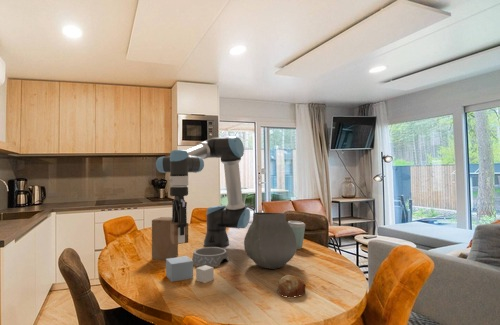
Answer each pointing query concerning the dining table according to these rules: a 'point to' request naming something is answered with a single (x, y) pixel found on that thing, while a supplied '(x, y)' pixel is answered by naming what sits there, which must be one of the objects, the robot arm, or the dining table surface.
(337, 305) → the dining table surface
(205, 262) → the dog bowl
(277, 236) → the ceramic pot
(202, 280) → the grey cube
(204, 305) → the dining table surface
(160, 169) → the robot arm
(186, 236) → the walnut block
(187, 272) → the slate block
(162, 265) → the dining table surface
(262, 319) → the dining table surface
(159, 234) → the wooden block
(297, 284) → the bread roll
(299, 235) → the disposable coffee cup
